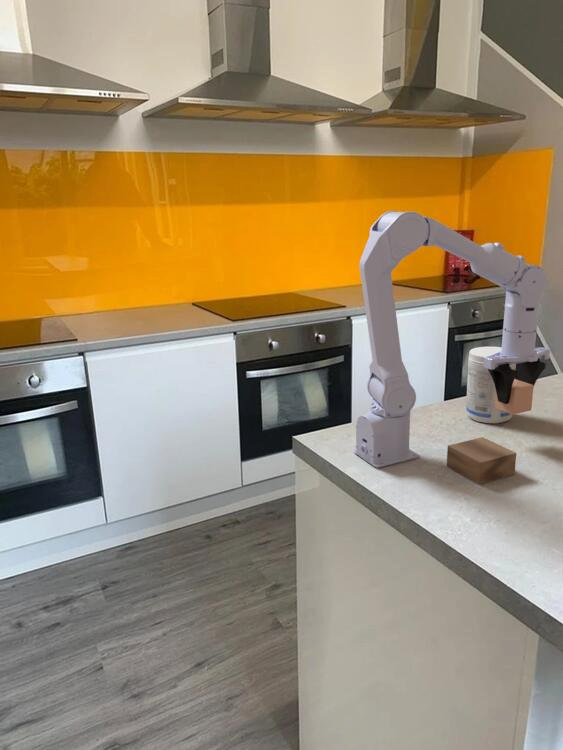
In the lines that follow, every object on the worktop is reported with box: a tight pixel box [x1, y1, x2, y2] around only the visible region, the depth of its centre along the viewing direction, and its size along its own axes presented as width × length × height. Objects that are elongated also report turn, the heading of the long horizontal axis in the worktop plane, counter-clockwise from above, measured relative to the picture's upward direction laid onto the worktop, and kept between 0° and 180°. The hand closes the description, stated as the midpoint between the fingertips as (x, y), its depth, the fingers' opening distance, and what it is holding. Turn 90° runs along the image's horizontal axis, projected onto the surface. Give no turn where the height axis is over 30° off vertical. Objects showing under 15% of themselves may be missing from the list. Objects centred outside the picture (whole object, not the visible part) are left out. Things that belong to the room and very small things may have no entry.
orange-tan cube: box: [495, 378, 535, 416], centre depth 110 cm, size 5×5×5 cm
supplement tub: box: [465, 346, 517, 424], centre depth 125 cm, size 10×10×15 cm
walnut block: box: [446, 436, 517, 485], centre depth 102 cm, size 8×8×4 cm
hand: (513, 400), depth 111 cm, fingers closed on orange-tan cube, 5 cm apart
